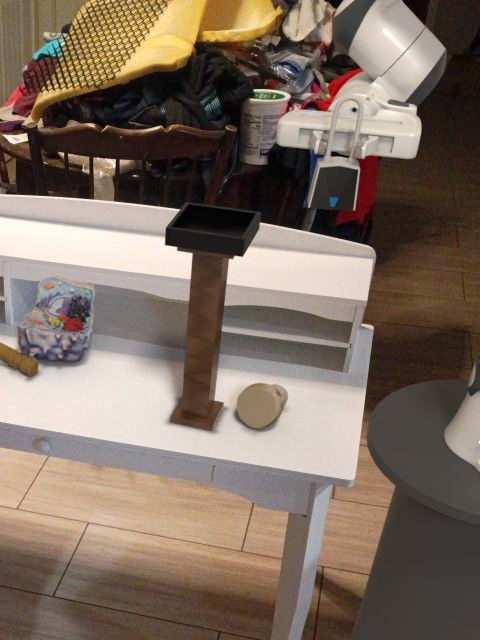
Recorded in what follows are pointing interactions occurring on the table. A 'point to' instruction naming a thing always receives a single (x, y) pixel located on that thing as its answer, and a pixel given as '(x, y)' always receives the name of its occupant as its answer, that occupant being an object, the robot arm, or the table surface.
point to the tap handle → (18, 360)
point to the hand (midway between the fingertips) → (340, 150)
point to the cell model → (58, 321)
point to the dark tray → (213, 229)
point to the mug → (261, 404)
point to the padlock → (337, 170)
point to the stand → (203, 340)
